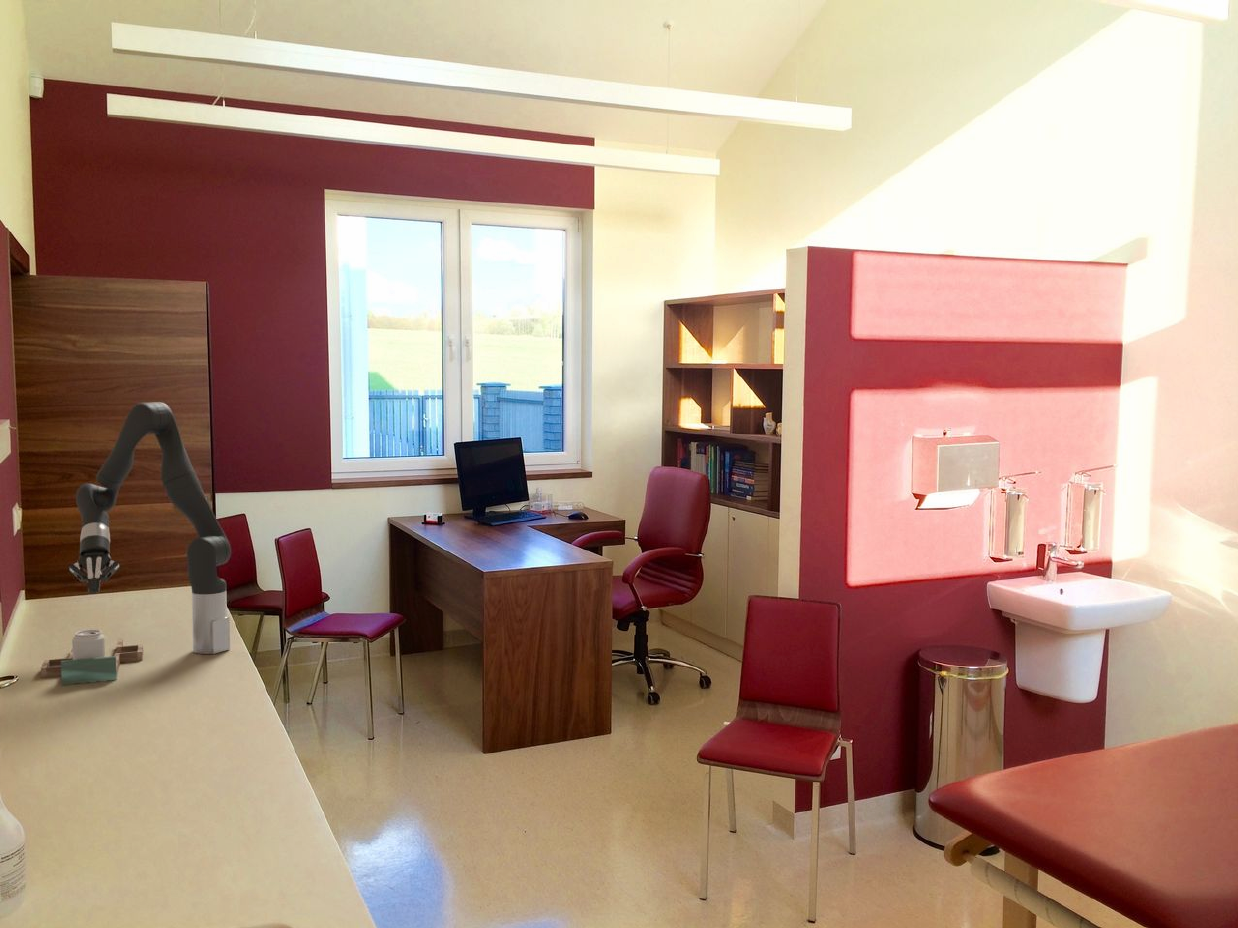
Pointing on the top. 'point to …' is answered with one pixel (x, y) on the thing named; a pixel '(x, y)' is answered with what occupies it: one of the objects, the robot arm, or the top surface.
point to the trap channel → (91, 665)
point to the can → (88, 644)
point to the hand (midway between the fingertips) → (93, 592)
